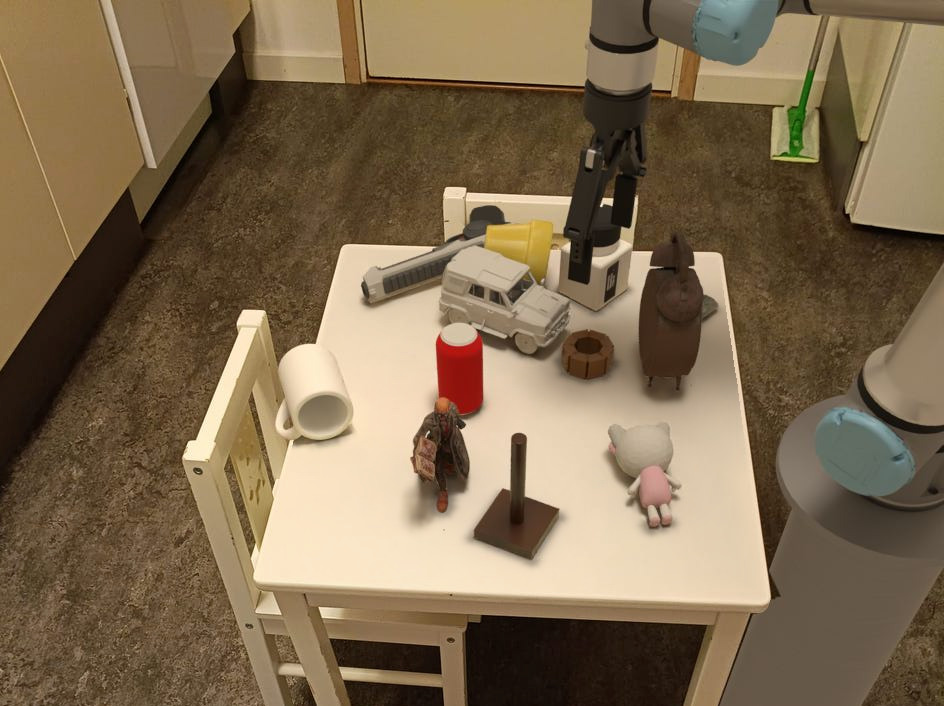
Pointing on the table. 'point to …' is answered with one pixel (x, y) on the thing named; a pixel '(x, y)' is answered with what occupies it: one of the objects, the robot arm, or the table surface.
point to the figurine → (441, 448)
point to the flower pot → (523, 245)
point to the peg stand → (517, 511)
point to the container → (600, 265)
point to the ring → (587, 364)
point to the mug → (312, 394)
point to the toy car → (502, 299)
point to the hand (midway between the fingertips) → (600, 252)
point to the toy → (647, 465)
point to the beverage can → (460, 366)
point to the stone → (708, 305)
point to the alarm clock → (670, 312)
